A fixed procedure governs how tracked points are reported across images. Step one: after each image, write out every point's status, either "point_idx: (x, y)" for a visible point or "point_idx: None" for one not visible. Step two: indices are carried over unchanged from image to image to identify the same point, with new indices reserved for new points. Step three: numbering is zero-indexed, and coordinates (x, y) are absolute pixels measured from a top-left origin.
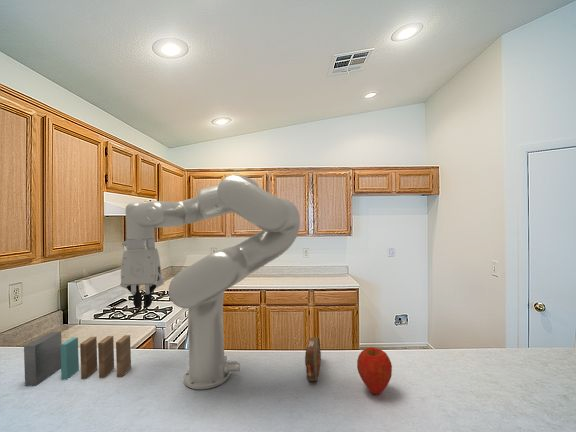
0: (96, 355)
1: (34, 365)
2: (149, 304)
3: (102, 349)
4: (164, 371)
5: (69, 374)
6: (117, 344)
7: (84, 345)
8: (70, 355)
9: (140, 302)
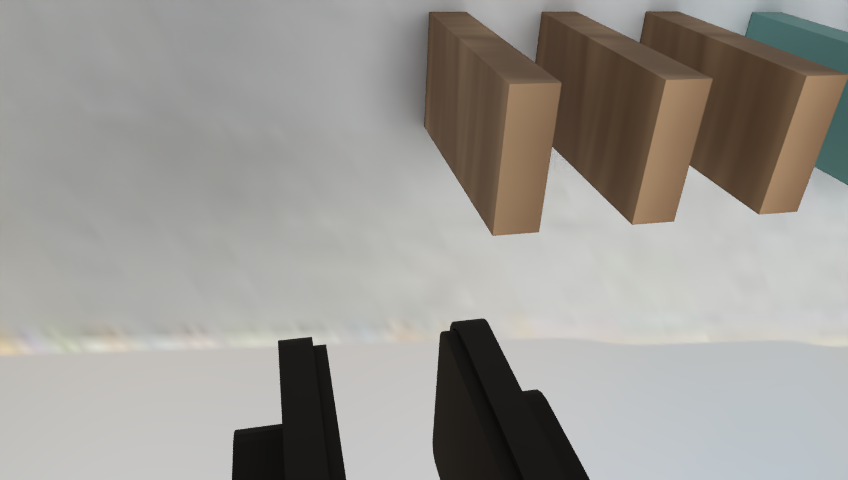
0: None
1: None
2: (252, 431)
3: (646, 63)
4: (153, 65)
5: (758, 37)
6: (539, 76)
7: (805, 71)
8: None
9: (450, 466)
